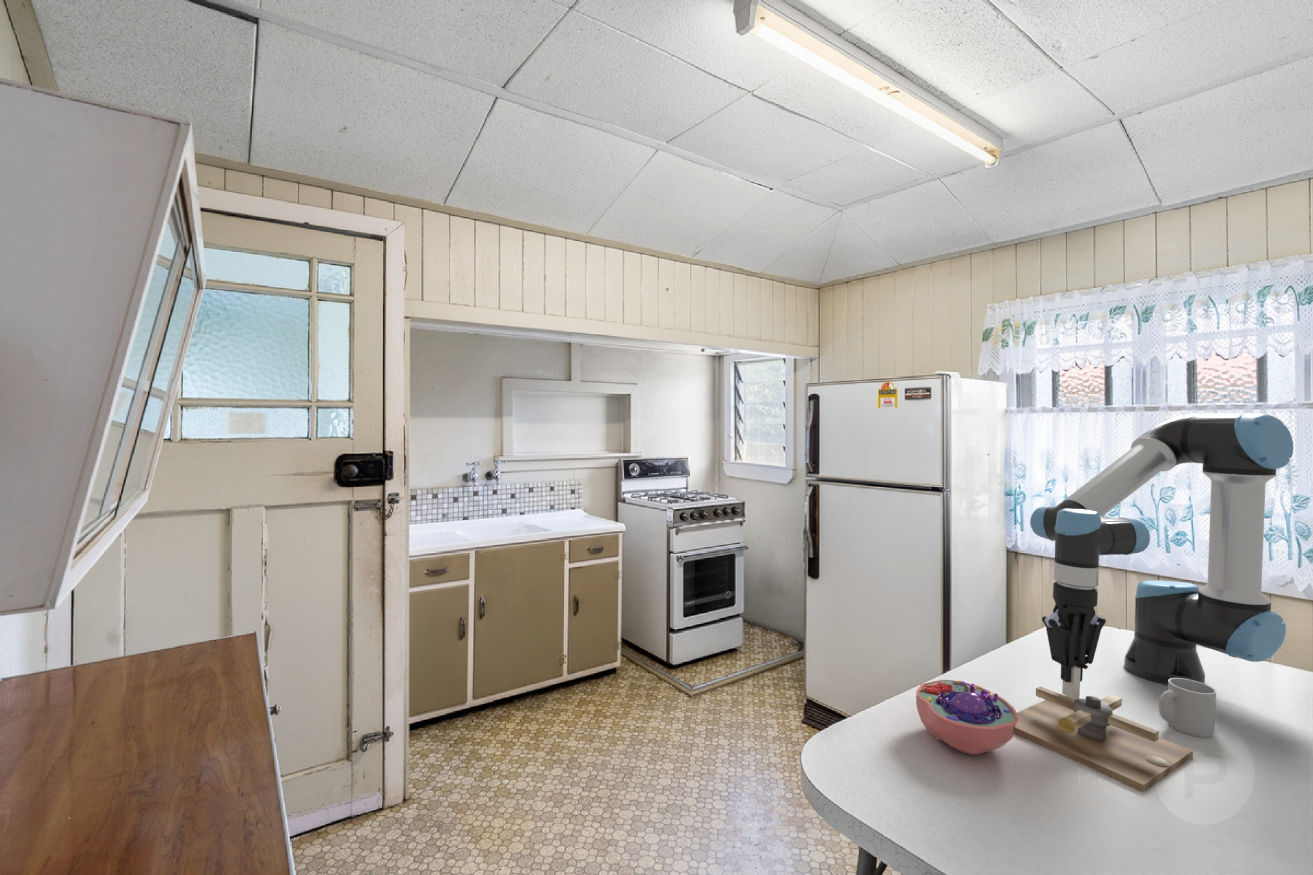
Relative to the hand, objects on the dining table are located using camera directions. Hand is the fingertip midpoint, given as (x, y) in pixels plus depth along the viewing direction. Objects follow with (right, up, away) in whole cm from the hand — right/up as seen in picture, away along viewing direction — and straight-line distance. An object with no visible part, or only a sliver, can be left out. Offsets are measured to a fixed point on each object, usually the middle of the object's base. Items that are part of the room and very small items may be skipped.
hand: (1070, 696), depth 122 cm
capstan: (-2, -1, -8) cm, 8 cm away
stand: (-1, -5, -8) cm, 9 cm away
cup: (+21, -6, -2) cm, 22 cm away
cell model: (-27, -5, -9) cm, 29 cm away
